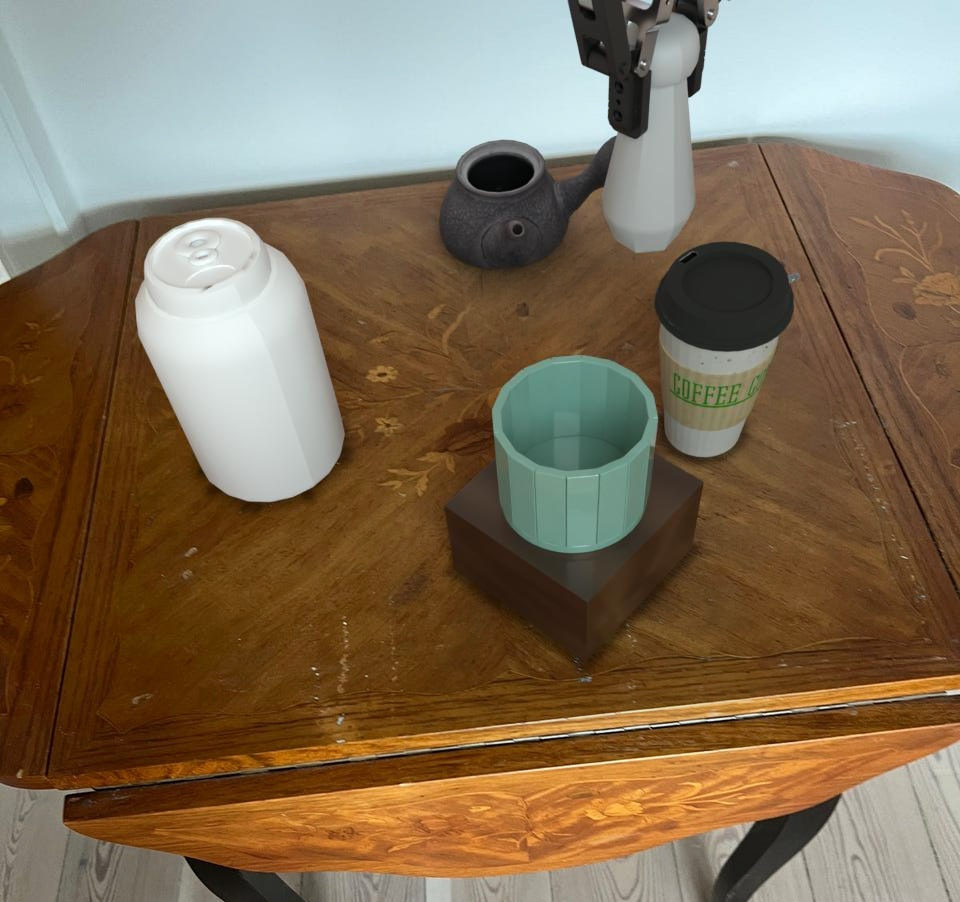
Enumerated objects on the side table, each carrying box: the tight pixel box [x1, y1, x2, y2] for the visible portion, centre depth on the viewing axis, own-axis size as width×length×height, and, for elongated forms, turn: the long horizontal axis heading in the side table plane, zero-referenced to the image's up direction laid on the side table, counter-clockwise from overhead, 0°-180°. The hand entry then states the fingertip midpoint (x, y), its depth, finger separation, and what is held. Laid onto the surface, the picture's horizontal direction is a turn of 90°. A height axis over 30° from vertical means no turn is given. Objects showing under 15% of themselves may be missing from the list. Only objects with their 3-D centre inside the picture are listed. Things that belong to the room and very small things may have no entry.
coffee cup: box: [653, 241, 795, 458], centre depth 77 cm, size 10×10×15 cm
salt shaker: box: [601, 12, 700, 254], centre depth 59 cm, size 6×6×13 cm
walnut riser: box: [443, 452, 705, 663], centre depth 74 cm, size 13×13×8 cm
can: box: [134, 217, 346, 503], centre depth 77 cm, size 12×12×20 cm
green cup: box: [491, 354, 659, 553], centre depth 67 cm, size 10×10×8 cm
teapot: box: [438, 134, 617, 271], centre depth 92 cm, size 19×15×10 cm
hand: (655, 109), depth 58 cm, fingers closed on salt shaker, 4 cm apart
